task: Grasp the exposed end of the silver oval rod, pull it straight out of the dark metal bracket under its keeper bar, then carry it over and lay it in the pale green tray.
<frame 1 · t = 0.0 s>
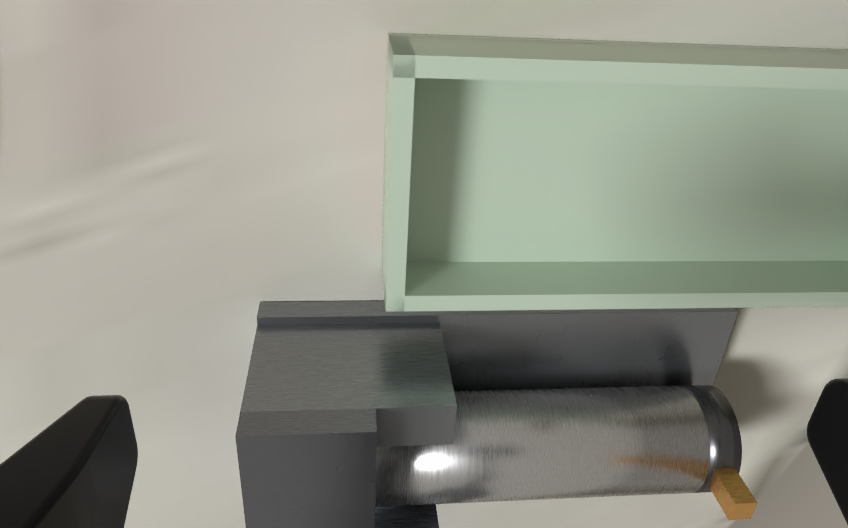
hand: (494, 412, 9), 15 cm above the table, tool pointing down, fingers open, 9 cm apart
bracket: (393, 393, 27), on the table
tray: (647, 165, 23), on the table
silver oval rod: (494, 407, 27), point 1 cm above the table, touching bracket
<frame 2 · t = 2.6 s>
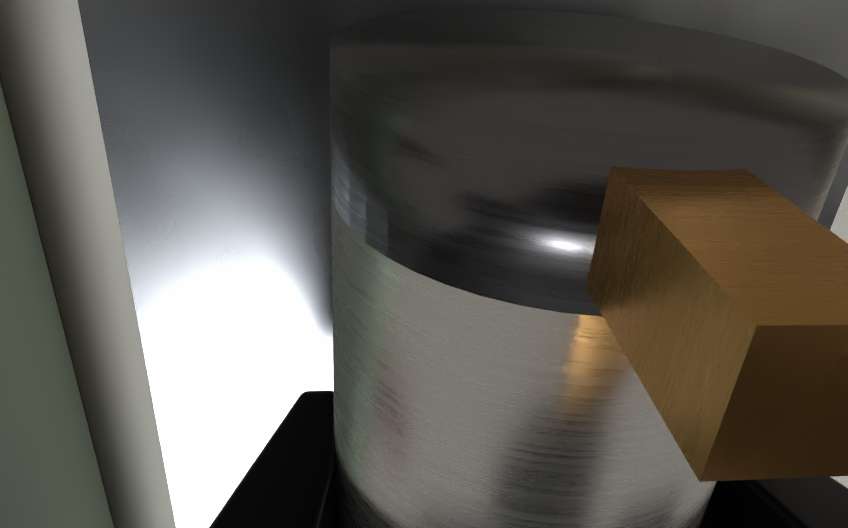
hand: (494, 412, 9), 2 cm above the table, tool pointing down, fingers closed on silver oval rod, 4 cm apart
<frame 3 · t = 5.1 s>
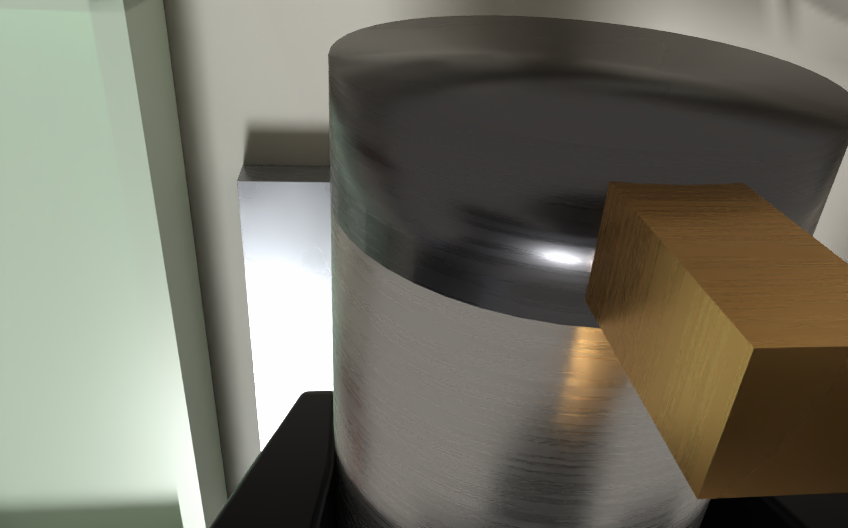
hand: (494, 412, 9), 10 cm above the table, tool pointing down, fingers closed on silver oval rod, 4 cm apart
bracket: (403, 515, 24), on the table
tray: (48, 318, 18), on the table
when the fingers open (4 cm above the table, at t = 7.6 s): silver oval rod drops 2 cm, resting on tray.
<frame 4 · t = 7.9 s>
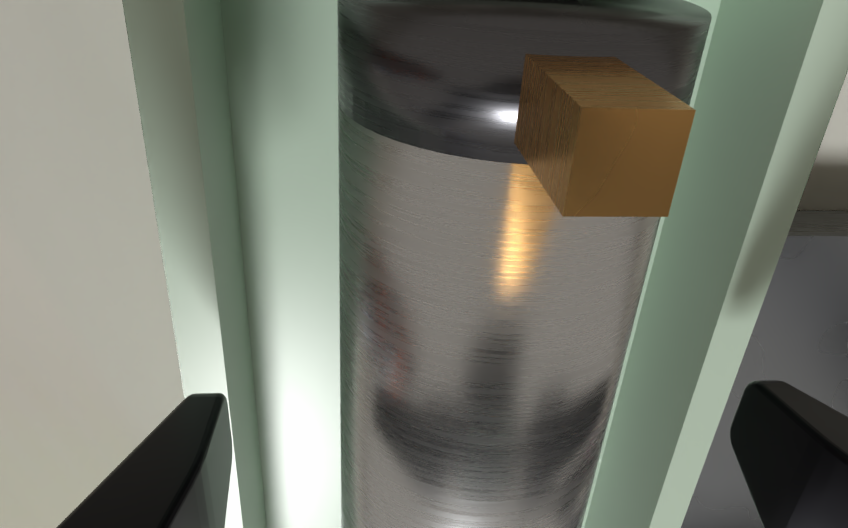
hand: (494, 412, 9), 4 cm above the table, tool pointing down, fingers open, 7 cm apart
tray: (436, 407, 14), on the table
silver oval rod: (443, 424, 13), point 1 cm above the table, touching tray
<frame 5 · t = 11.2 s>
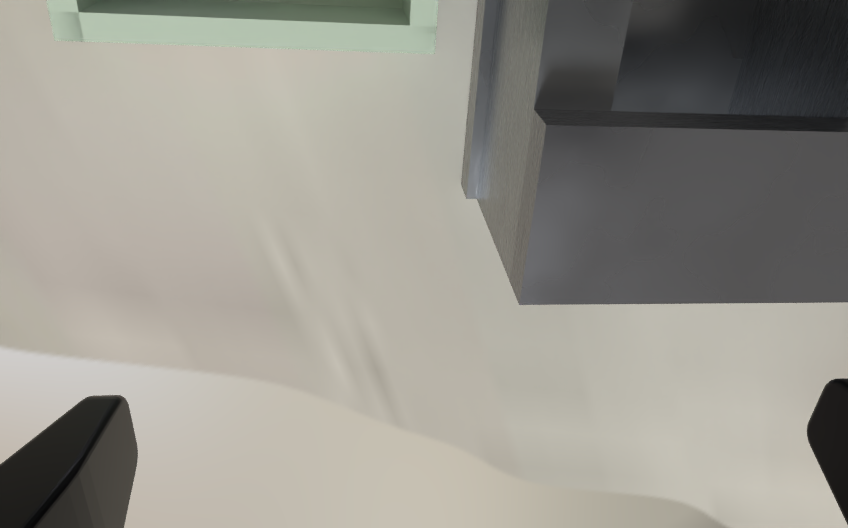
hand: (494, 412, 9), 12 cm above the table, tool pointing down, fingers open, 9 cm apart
bracket: (641, 15, 18), on the table
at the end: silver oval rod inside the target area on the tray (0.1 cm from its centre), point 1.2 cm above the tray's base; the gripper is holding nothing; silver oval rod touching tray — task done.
